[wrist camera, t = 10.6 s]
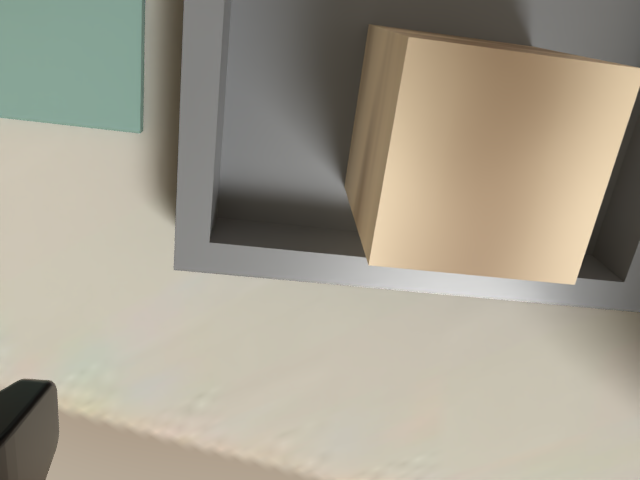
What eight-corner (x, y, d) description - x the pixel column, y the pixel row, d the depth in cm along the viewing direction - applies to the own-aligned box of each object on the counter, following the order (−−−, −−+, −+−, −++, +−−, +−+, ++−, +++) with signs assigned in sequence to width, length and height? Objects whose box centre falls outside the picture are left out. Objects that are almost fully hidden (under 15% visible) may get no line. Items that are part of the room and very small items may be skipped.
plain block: (532, 46, 18) (645, 68, 12) (492, 203, 19) (574, 284, 14) (368, 24, 17) (408, 36, 12) (344, 186, 19) (368, 265, 13)
